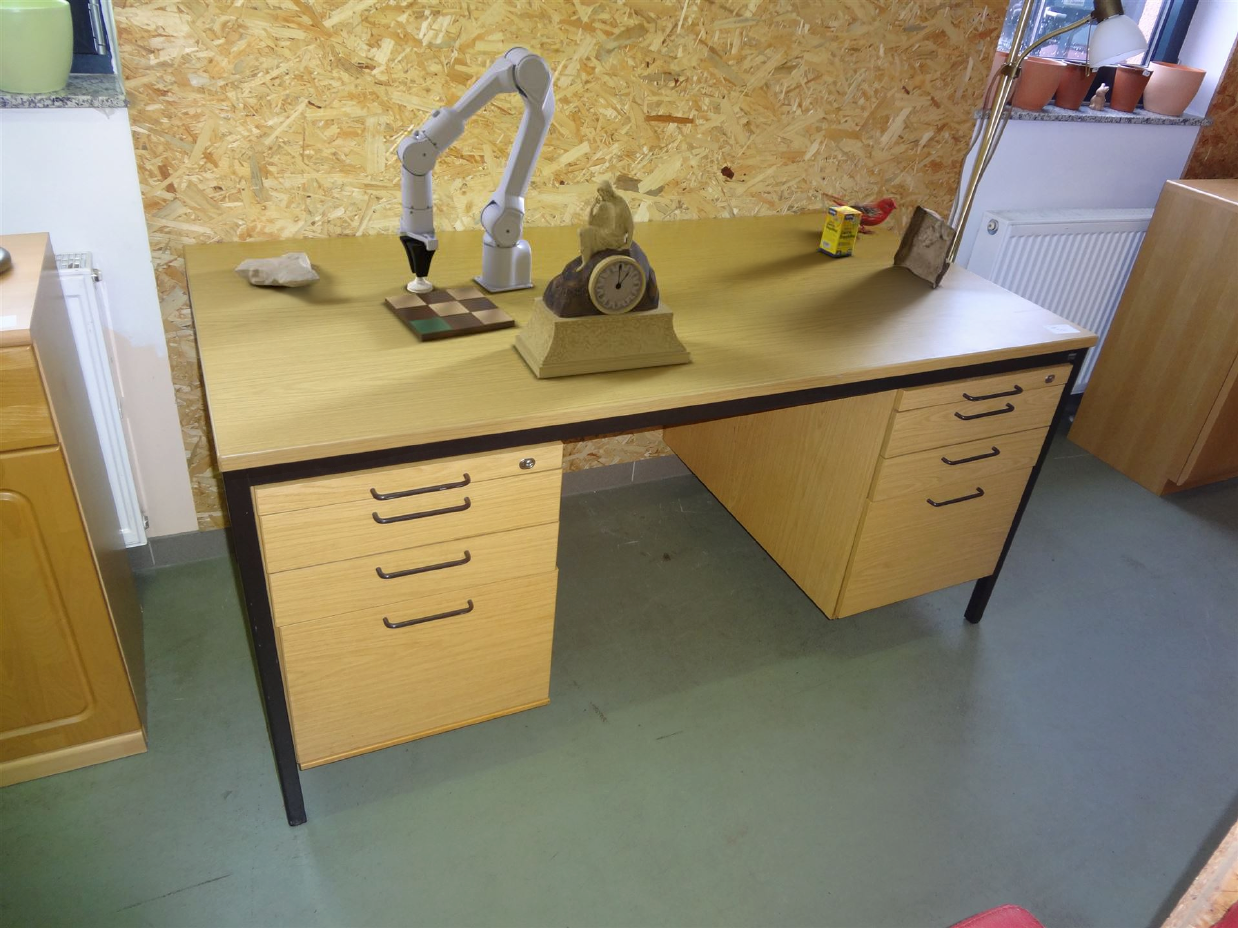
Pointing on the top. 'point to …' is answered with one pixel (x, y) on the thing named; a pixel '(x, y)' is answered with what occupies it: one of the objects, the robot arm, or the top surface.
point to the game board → (448, 313)
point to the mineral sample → (926, 245)
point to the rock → (279, 271)
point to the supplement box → (840, 231)
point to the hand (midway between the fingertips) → (419, 274)
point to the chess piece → (419, 285)
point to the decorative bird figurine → (873, 212)
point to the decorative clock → (601, 304)
